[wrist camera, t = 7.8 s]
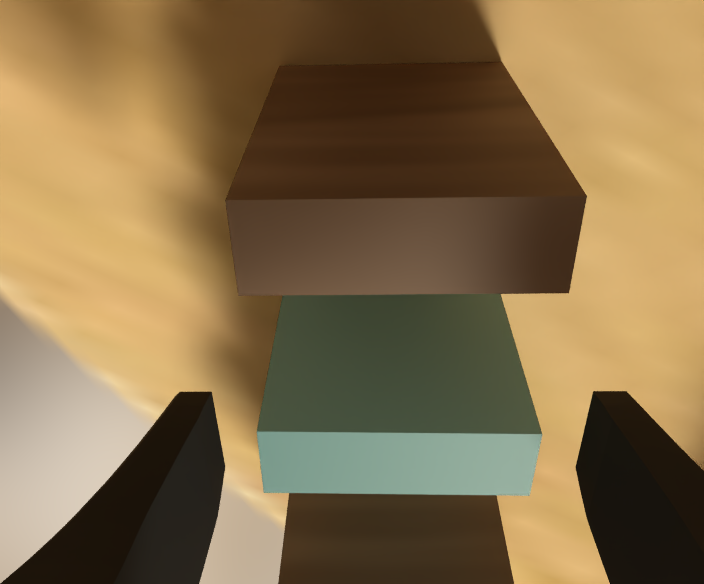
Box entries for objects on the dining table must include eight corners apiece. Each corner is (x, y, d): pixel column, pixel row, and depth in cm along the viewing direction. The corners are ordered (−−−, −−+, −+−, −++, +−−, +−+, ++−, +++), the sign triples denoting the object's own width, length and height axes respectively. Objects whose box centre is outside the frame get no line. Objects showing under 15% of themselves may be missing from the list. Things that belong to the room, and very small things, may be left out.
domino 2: (478, 290, 19) (529, 495, 13) (296, 290, 19) (263, 492, 13) (484, 239, 18) (542, 434, 12) (293, 239, 18) (256, 431, 12)
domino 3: (303, 372, 20) (278, 585, 14) (471, 371, 20) (514, 586, 14) (306, 411, 21) (283, 627, 15) (467, 411, 21) (506, 628, 15)
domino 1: (279, 65, 15) (225, 200, 9) (501, 61, 15) (586, 196, 9) (285, 133, 16) (238, 295, 10) (494, 130, 16) (568, 292, 10)
